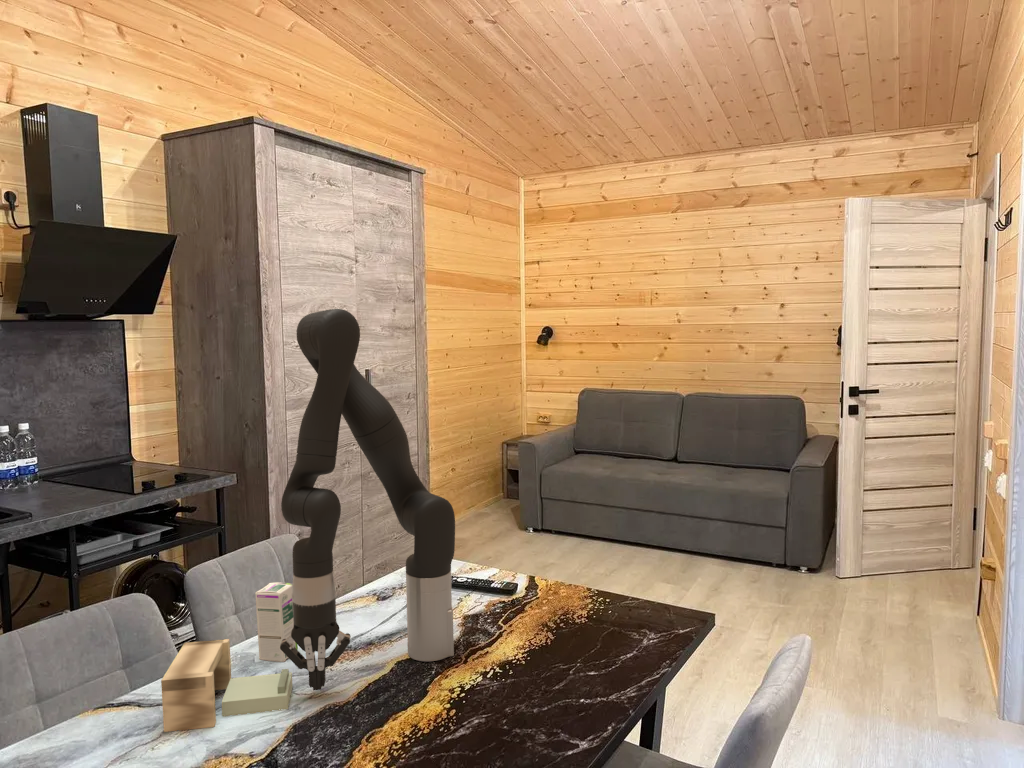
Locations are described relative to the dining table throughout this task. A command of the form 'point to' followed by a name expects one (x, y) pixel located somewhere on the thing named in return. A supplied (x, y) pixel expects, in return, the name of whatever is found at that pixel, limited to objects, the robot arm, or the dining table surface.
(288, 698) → the panel
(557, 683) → the dining table surface
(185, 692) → the wooden c-channel bracket
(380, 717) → the dining table surface
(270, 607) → the syrup box
